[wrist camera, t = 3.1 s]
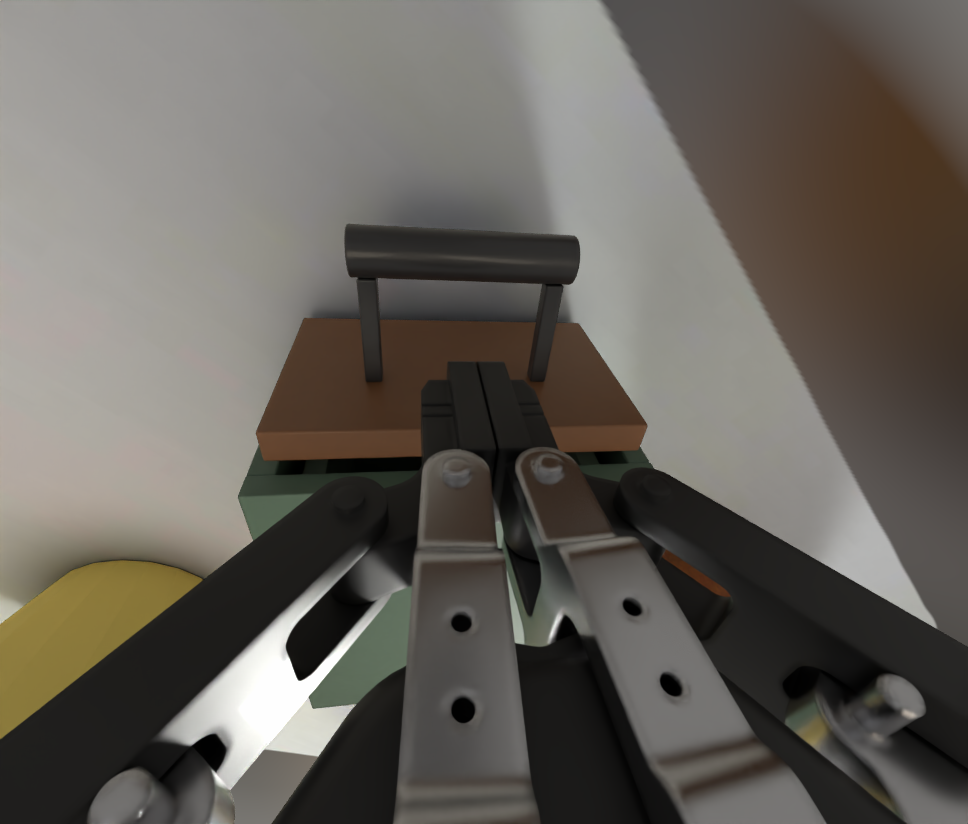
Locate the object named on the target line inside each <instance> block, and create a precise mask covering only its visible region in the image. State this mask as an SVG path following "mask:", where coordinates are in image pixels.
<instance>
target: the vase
mask: <svg viewBox="0 0 968 824" xmlns="http://www.w3.org/2000/svg"><path fill="white" fill-rule="evenodd" d="M201 581H203V579H201V578H200V577H197V576H195V575H193V574H190V573H188V572H186V571H183V570H181V569H178V568H175V567H170V566H166V565H161V564H157V563H153V562H142V561H127V560H118V561H108V562H99V563H92V564H89V565H86V566H83V567H80V568H77V569H74V570H71V571H70V572H69V573H67V574H66V575H65V576H63V577H62V578H60V579H59V580H58V581H56V582H55V583H54V584H52V585H51V586H50V587H48V588H47V589H46V590H44V591H43V592H42V593H40V594H39V595H38V596H36V597H35V598H34V599H32V600H31V601H30V602H28V603H27V604H26V605H25V606H23V607H22V608H21V609H19V610H18V611H17V612H16V613H14V614H13V615H12V616H10V617H9V618H8V619H7V620H5V621H4V622H3V623H1V624H0V739H1V738H3V737H4V736H5V735H6V734H8V733H9V732H10V731H11V730H13V729H14V728H15V727H17V726H18V725H19V724H20V723H22V722H23V721H24V720H25V719H27V718H28V717H29V716H31V715H32V714H33V713H34V712H36V711H37V710H38V709H40V708H41V707H42V706H43V705H45V704H46V703H47V702H48V701H50V700H51V699H52V698H54V697H55V696H56V695H57V694H59V693H60V692H61V691H62V690H64V689H65V688H66V687H68V686H69V685H70V684H71V683H73V682H74V681H75V680H76V679H78V678H79V677H80V676H82V675H83V674H84V673H85V672H87V671H88V670H89V669H91V668H92V667H93V666H94V665H96V664H97V663H98V662H99V661H101V660H102V659H103V658H105V657H106V656H107V655H108V654H110V653H111V652H112V651H113V650H115V649H116V648H117V647H119V646H120V645H121V644H122V643H124V642H125V641H126V640H128V639H129V638H130V637H131V636H133V635H134V634H135V633H136V632H138V631H139V630H140V629H142V628H143V627H144V626H145V625H147V624H148V623H149V622H150V621H152V620H153V619H154V618H156V617H157V616H158V615H159V614H161V613H162V612H163V611H164V610H166V609H167V608H168V607H170V606H171V605H172V604H173V603H175V602H176V601H177V600H179V599H180V598H181V597H182V596H184V595H185V594H186V593H187V592H189V591H190V590H191V589H193V588H194V587H195V586H196V585H198V584H199V583H200V582H201Z"/></svg>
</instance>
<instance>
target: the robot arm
mask: <svg viewBox="0 0 968 824" xmlns="http://www.w3.org/2000/svg"><path fill="white" fill-rule="evenodd" d="M421 453H422V466H421V468H420V469H419V471H418V472H417V473H416V474H415V475H414V476H413V477H411V478H410V479H408V480H406V481H404V482H402V483H400V484H397V485H393V486H390V487H387V488H383V487H382V486H381V485H380V484H379V483H377V482H376V481H374V480H372V479H369V478H366V477H360V476H349V477H343V478H339V479H336V480H333V481H331V482H329V483H327V484H326V485H324V486H323V487H321V488H320V489H319V490H317V491H316V492H315V493H314V494H312V495H311V496H310V497H309V498H307V499H306V500H305V501H303V502H302V503H301V504H300V505H298V506H297V507H296V508H295V509H293V510H292V511H291V512H289V513H288V514H287V515H286V516H284V517H283V518H282V519H281V520H279V521H278V522H277V523H275V524H274V525H273V526H272V527H270V528H269V529H268V530H266V531H265V532H264V533H263V534H261V535H260V536H259V537H258V538H256V539H255V540H254V541H252V542H251V543H250V544H249V545H247V546H246V547H245V548H244V549H242V550H241V551H240V552H238V553H237V554H236V555H235V556H233V557H232V558H231V559H230V560H228V561H227V562H226V563H224V564H223V565H222V566H221V567H219V568H218V569H217V570H215V571H214V572H213V573H212V574H210V575H209V576H208V577H207V578H205V579H204V580H203V581H201V582H200V583H199V584H198V585H196V586H195V587H194V588H193V589H191V590H190V591H189V592H187V593H186V594H185V595H184V596H182V597H181V598H180V599H179V600H177V601H176V602H175V603H173V604H172V605H171V606H170V607H168V608H167V609H166V610H164V611H163V612H162V613H161V614H159V615H158V616H157V617H156V618H154V619H153V620H152V621H150V622H149V623H148V624H147V625H145V626H144V627H143V628H142V629H140V630H139V631H138V632H136V633H135V634H134V635H133V636H131V637H130V638H129V639H128V640H126V641H125V642H124V643H122V644H121V645H120V646H119V647H117V648H116V649H115V650H113V651H112V652H111V653H110V654H108V655H107V656H106V657H105V658H103V659H102V660H101V661H99V662H98V663H97V664H96V665H94V666H93V667H92V668H91V669H89V670H88V671H87V672H85V673H84V674H83V675H82V676H80V677H79V678H78V679H76V680H75V681H74V682H73V683H71V684H70V685H69V686H68V687H66V688H65V689H64V690H62V691H61V692H60V693H59V694H57V695H56V696H55V697H54V698H52V699H51V700H50V701H48V702H47V703H46V704H45V705H43V706H42V707H41V708H40V709H38V710H37V711H36V712H34V713H33V714H32V715H31V716H29V717H28V718H27V719H25V720H24V721H23V722H22V723H20V724H19V725H18V726H17V727H15V728H14V729H13V730H11V731H10V732H9V733H8V734H6V735H5V736H4V737H3V738H1V739H0V824H234V820H235V806H234V802H233V797H232V795H231V792H230V789H231V788H232V787H233V786H234V785H235V783H236V782H237V781H238V780H239V779H240V777H241V776H242V775H243V774H244V773H245V771H246V770H247V769H248V768H249V767H250V766H251V764H252V763H253V762H254V761H255V760H256V758H257V757H258V756H259V755H260V754H261V752H262V751H263V750H264V749H265V748H266V746H267V745H268V744H269V743H270V742H271V740H272V739H273V738H274V737H275V736H276V735H277V733H278V732H279V731H280V730H281V729H282V727H283V726H284V725H285V724H286V723H287V721H288V720H289V719H290V718H291V717H292V715H293V714H294V713H295V712H296V711H297V709H298V708H299V707H300V706H301V705H302V703H303V702H304V701H305V700H306V699H307V698H308V696H309V695H310V694H311V693H312V692H313V690H314V689H315V688H316V687H317V686H318V684H319V683H320V682H321V681H322V680H323V678H324V677H325V676H326V675H327V674H328V672H329V671H330V670H331V669H332V668H333V666H334V665H335V664H336V663H337V662H338V661H339V659H340V658H341V657H342V656H343V655H344V653H345V652H346V651H347V650H348V649H349V647H350V646H351V645H352V644H353V643H354V641H355V640H356V639H357V638H358V637H359V635H360V634H361V633H362V632H363V631H364V629H365V628H366V627H367V626H368V625H369V624H370V622H371V621H372V620H373V619H374V618H375V616H376V615H377V614H378V613H379V612H380V610H381V609H382V608H383V607H384V606H385V604H386V603H387V602H388V600H389V598H390V596H391V594H392V593H394V592H397V591H399V590H402V589H404V588H407V587H409V586H412V595H411V608H410V622H409V635H408V649H407V662H406V666H404V667H403V668H401V669H399V670H397V671H395V672H393V673H392V674H390V675H389V676H387V677H386V678H385V679H383V680H382V681H380V682H379V683H378V684H377V685H376V686H375V687H373V688H372V689H371V690H370V691H369V692H368V693H367V694H366V695H365V696H364V697H363V698H362V699H361V700H360V701H359V702H358V703H357V705H356V706H355V707H354V708H353V709H352V710H351V712H350V713H349V714H348V716H347V717H346V718H345V720H344V721H343V722H342V724H341V725H340V727H339V728H338V730H337V731H336V732H335V734H334V735H333V737H332V738H331V740H330V741H329V742H328V744H327V745H326V747H325V748H324V750H323V751H322V752H321V754H320V755H319V757H318V758H317V760H316V761H315V762H314V764H313V765H312V767H311V768H310V770H309V771H308V773H307V774H306V775H305V777H304V778H303V780H302V781H301V783H300V784H299V785H298V787H297V788H296V790H295V791H294V793H293V794H292V795H291V797H290V798H289V800H288V801H287V803H286V804H285V805H284V807H283V808H282V810H281V811H280V813H279V814H278V815H277V817H276V818H275V820H274V821H273V823H272V824H968V647H967V646H965V645H963V644H962V643H960V642H958V641H957V640H955V639H953V638H951V637H950V636H948V635H946V634H944V633H943V632H941V631H939V630H938V629H936V628H934V627H932V626H931V625H929V624H927V623H925V622H924V621H922V620H920V619H918V618H917V617H915V616H913V615H911V614H910V613H908V612H906V611H904V610H903V609H901V608H899V607H898V606H896V605H894V604H892V603H891V602H889V601H887V600H885V599H884V598H882V597H880V596H878V595H877V594H875V593H873V592H871V591H870V590H868V589H866V588H864V587H863V586H861V585H859V584H858V583H856V582H854V581H852V580H851V579H849V578H847V577H845V576H844V575H842V574H840V573H838V572H837V571H835V570H833V569H831V568H830V567H828V566H826V565H825V564H823V563H821V562H819V561H818V560H816V559H814V558H812V557H811V556H809V555H807V554H805V553H804V552H802V551H800V550H798V549H797V548H795V547H793V546H791V545H790V544H788V543H786V542H785V541H783V540H781V539H779V538H778V537H776V536H774V535H772V534H771V533H769V532H767V531H765V530H764V529H762V528H760V527H758V526H757V525H755V524H753V523H751V522H750V521H748V520H746V519H745V518H743V517H741V516H739V515H738V514H736V513H734V512H732V511H731V510H729V509H727V508H725V507H724V506H722V505H720V504H718V503H717V502H715V501H713V500H711V499H710V498H708V497H706V496H705V495H703V494H701V493H699V492H698V491H696V490H694V489H692V488H691V487H689V486H687V485H685V484H684V483H682V482H680V481H678V480H677V479H675V478H673V477H671V476H670V475H668V474H666V473H664V472H661V471H659V470H656V469H652V468H645V467H639V468H633V469H630V470H628V471H626V472H625V473H624V474H623V475H622V477H621V479H620V482H617V481H613V480H608V479H603V478H598V477H594V476H590V475H587V474H584V473H582V471H581V469H580V468H579V466H578V464H577V463H576V462H575V460H574V459H573V458H571V457H570V456H569V455H567V454H566V453H564V452H562V451H560V450H559V449H558V446H557V444H556V441H555V439H554V436H553V434H552V431H551V429H550V426H549V424H548V422H547V419H546V417H545V415H544V412H543V409H542V407H541V405H540V402H539V399H538V397H537V394H536V392H535V390H534V389H533V388H532V387H531V386H530V385H528V384H527V383H526V382H525V381H524V380H510V377H509V374H508V371H507V368H506V365H505V363H504V362H503V361H477V362H475V361H448V363H447V378H446V380H428V381H427V383H426V384H425V386H424V387H423V389H422V390H421ZM495 522H501V523H502V528H503V539H502V544H501V548H498V544H497V535H496V525H495ZM666 549H667V550H668V551H670V552H671V553H673V554H674V555H676V556H677V557H679V558H680V559H682V560H683V561H685V562H686V563H688V564H689V565H691V566H692V567H694V568H695V569H697V570H698V571H699V572H701V573H702V574H704V575H705V576H707V577H708V578H710V579H711V580H713V581H714V582H716V583H717V584H719V585H720V586H722V587H723V588H724V589H725V590H726V591H727V592H728V593H729V594H730V597H724V596H720V595H717V594H715V593H714V592H712V591H711V590H709V589H708V588H706V587H705V586H703V585H702V584H700V583H699V582H697V581H696V580H694V579H693V578H692V577H690V576H689V575H687V574H686V573H684V572H683V571H681V570H680V569H678V568H677V567H676V566H674V565H673V564H671V563H670V562H668V561H667V560H665V559H664V558H662V556H663V554H664V552H665V550H666ZM506 569H507V570H506ZM507 572H508V576H509V579H510V583H511V586H512V590H513V593H514V597H515V600H516V604H517V607H518V611H519V614H520V618H521V621H522V625H523V631H524V644H518V643H515V639H514V630H513V621H512V613H511V604H510V596H509V587H508V578H507Z"/></svg>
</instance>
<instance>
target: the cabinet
mask: <svg viewBox="0 0 968 824" xmlns="http://www.w3.org/2000/svg"><path fill="white" fill-rule="evenodd" d="M594 454H595V456H596V458H597V460H598V462H599V465H578V466H579V468H580V469H581V471H582V473H584V474H587V475H590V476H594V477H598V478H603V479H608V480H613V481H617V482H620V479H621V477H622V475H623V474H624V473H625V472H626V471H628V470H630V469H633V468H639V467H645V468H652V469H654V468H653V466H652V464H651V463H649V460H648V459H647V457H646V456H645V454H644V452H643V451H642V449H641V447H639V449H638V450H633V451H598V452H594ZM305 462H306V460H282V461H264V460H263V457H262V453H261V450H260V446H258V448H257V451H256V453H255V456H254V458H253V461H252V463H251V466H250V468H249V471H248V473H247V476H246V477H245V480H244V482H243V485H242V487H241V490H240V492H239V495H238V499H239V502H240V505H241V508H242V510H243V513H244V516H245V519H246V522H247V525H248V527H249V530H250V533H251V536H252V539H253V541H254V540H255V539H256V538H258V537H259V536H260V535H261V534H263V533H264V532H265V531H266V530H268V529H269V528H270V527H272V526H273V525H274V524H275V523H277V522H278V521H279V520H281V519H282V518H283V517H284V516H286V515H287V514H288V513H289V512H291V511H292V510H293V509H295V508H296V507H297V506H298V505H300V504H301V503H302V502H303V501H305V500H306V499H307V498H309V497H310V496H311V495H312V494H314V493H315V492H316V491H317V490H319V489H320V488H321V487H323V486H324V485H326V484H327V483H329V482H331V481H333V480H336V479H339V478H343V477H349V476H360V477H366V478H369V479H372V480H374V481H376V482H377V483H379V484H380V485H381V486H382V487H383V488H387V487H390V486H393V485H397V484H400V483H402V482H404V481H406V480H408V479H410V478H411V477H413V476H414V475H415V474H416V473H417V472H418V471H389V472H359V473H329V474H303V470H304V466H305ZM495 525H496V535H497V544H498V548H501V544H502V539H503V528H502V523H501V522H495ZM506 570H507V569H506ZM507 578H508V587H509V596H510V604H511V613H512V621H513V630H514V639H515V643H518V644H524V631H523V625H522V621H521V618H520V614H519V611H518V607H517V604H516V600H515V597H514V593H513V590H512V586H511V583H510V579H509V576H508V572H507ZM411 595H412V586H409V587H407V588H404V589H402V590H399V591H397V592H394V593H392V594H391V596H390V598H389V600H388V602H387V603H386V604H385V606H384V607H383V608H382V609H381V610H380V612H379V613H378V614H377V615H376V616H375V618H374V619H373V620H372V621H371V622H370V624H369V625H368V626H367V627H366V628H365V629H364V631H363V632H362V633H361V634H360V635H359V637H358V638H357V639H356V640H355V641H354V643H353V644H352V645H351V646H350V647H349V649H348V650H347V651H346V652H345V653H344V655H343V656H342V657H341V658H340V659H339V661H338V662H337V663H336V664H335V665H334V666H333V668H332V669H331V670H330V671H329V672H328V674H327V675H326V676H325V677H324V678H323V680H322V681H321V682H320V683H319V684H318V686H317V687H316V688H315V689H314V690H313V692H312V693H311V694H310V695H309V696H308V697H309V699H310V702H311V705H312V708H313V709H315V708H324V707H333V706H342V705H351V704H357V703H358V702H359V701H360V700H361V699H362V698H363V697H364V696H365V695H366V694H367V693H368V692H369V691H370V690H371V689H372V688H373V687H375V686H376V685H377V684H378V683H379V682H380V681H382V680H383V679H385V678H386V677H387V676H389V675H390V674H392V673H393V672H395V671H397V670H399V669H401V668H403V667H404V666H406V662H407V649H408V635H409V622H410V608H411Z"/></svg>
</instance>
